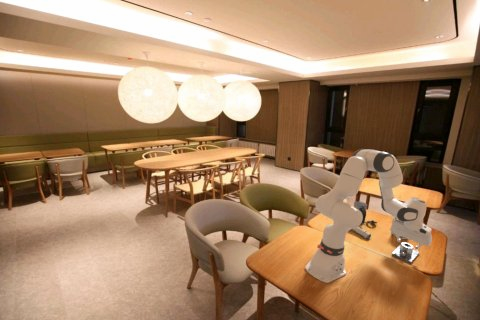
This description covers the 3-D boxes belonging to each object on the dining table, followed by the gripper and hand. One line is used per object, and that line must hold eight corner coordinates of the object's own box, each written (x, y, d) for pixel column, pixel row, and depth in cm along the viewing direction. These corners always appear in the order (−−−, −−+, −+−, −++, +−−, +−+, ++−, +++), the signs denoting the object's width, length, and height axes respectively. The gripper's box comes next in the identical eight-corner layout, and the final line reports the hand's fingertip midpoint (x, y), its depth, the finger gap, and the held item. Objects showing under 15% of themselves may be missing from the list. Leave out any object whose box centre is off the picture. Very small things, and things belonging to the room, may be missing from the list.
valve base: (410, 264, 134) (412, 256, 133) (391, 255, 142) (393, 247, 140) (418, 254, 143) (420, 247, 142) (400, 246, 151) (401, 239, 149)
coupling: (409, 256, 138) (411, 249, 137) (398, 251, 142) (400, 244, 141) (412, 253, 142) (414, 245, 140) (401, 248, 146) (403, 241, 145)
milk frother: (348, 218, 185) (351, 201, 182) (366, 217, 188) (369, 200, 184) (360, 227, 172) (363, 209, 168) (379, 226, 174) (382, 208, 171)
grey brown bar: (368, 235, 155) (336, 215, 175) (365, 243, 158) (334, 222, 177) (372, 233, 158) (340, 213, 177) (369, 241, 160) (338, 221, 180)
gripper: (390, 218, 143) (386, 238, 146) (432, 233, 127) (426, 255, 131) (394, 216, 147) (390, 235, 150) (435, 230, 131) (429, 251, 135)
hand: (407, 245), depth 140 cm, fingers open, 8 cm apart
